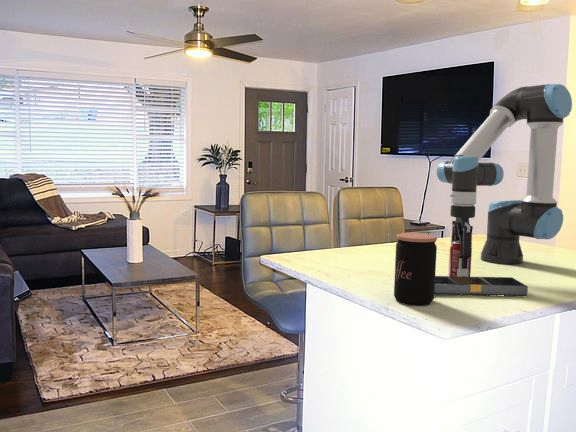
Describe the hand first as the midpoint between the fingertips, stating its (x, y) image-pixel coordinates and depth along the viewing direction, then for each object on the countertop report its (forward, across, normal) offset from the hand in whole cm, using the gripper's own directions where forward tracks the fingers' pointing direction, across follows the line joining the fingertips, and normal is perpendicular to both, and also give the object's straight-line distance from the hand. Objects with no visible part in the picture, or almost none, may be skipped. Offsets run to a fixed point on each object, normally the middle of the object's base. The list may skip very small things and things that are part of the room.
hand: (459, 275), depth 180 cm
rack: (+1, +16, -2) cm, 16 cm away
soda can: (+1, 0, 0) cm, 1 cm away
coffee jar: (+1, +29, -21) cm, 36 cm away
